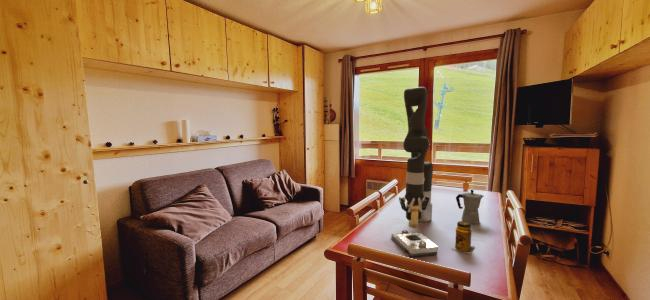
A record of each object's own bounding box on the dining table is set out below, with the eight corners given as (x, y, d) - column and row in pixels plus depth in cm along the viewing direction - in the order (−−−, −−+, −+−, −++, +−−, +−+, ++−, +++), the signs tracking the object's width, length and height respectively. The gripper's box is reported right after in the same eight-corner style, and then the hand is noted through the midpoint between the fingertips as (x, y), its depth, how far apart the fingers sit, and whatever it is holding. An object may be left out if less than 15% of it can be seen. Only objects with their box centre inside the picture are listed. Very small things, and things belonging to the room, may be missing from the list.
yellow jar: (452, 249, 120) (453, 223, 119) (457, 242, 127) (458, 217, 125) (470, 254, 116) (471, 227, 114) (474, 247, 122) (476, 221, 121)
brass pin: (415, 223, 125) (416, 202, 124) (421, 228, 120) (422, 206, 119) (405, 224, 124) (405, 203, 123) (410, 228, 119) (411, 206, 118)
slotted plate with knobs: (414, 235, 134) (414, 225, 134) (437, 255, 115) (438, 243, 114) (391, 237, 132) (391, 226, 132) (411, 258, 113) (411, 245, 112)
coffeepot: (477, 217, 158) (478, 187, 155) (487, 224, 148) (489, 191, 146) (450, 218, 157) (452, 187, 155) (459, 224, 148) (461, 192, 146)
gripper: (425, 179, 125) (423, 215, 127) (396, 180, 123) (394, 217, 124) (434, 183, 118) (432, 221, 119) (403, 184, 115) (402, 223, 117)
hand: (413, 219), depth 122 cm, fingers closed on brass pin, 4 cm apart
